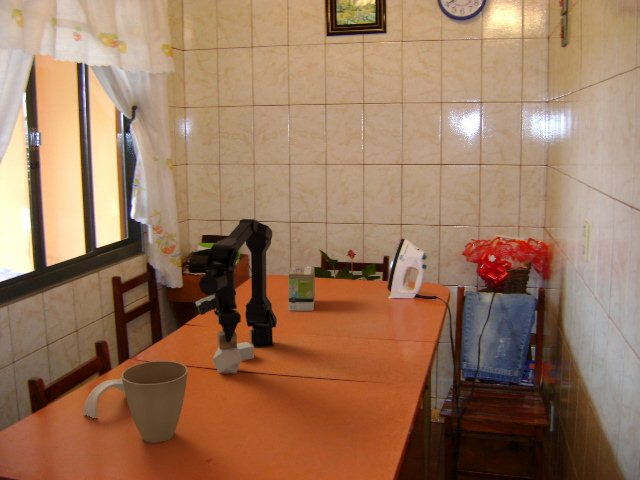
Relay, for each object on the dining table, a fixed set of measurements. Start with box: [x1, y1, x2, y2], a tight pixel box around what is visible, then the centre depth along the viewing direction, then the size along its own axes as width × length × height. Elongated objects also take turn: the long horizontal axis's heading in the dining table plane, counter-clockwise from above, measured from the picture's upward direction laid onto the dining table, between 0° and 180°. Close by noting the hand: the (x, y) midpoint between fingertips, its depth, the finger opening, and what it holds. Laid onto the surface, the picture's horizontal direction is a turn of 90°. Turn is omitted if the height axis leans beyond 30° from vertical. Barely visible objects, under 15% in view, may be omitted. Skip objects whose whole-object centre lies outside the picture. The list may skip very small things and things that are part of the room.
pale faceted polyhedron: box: [212, 346, 243, 374], centre depth 204 cm, size 8×9×10 cm
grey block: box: [237, 341, 255, 361], centre depth 217 cm, size 5×5×4 cm
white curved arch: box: [82, 378, 125, 419], centre depth 184 cm, size 24×12×7 cm, turn 148°
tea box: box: [288, 266, 316, 312], centre depth 274 cm, size 15×10×15 cm, turn 179°
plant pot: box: [121, 360, 188, 444], centre depth 162 cm, size 15×15×16 cm
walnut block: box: [216, 330, 238, 349], centre depth 203 cm, size 5×5×4 cm
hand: (226, 338), depth 203 cm, fingers open, 6 cm apart
